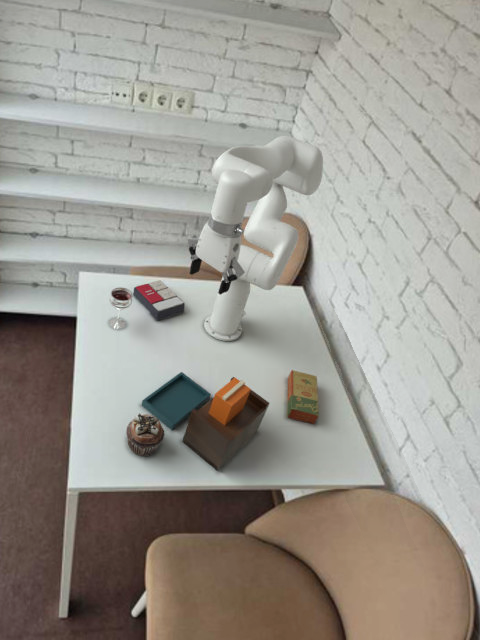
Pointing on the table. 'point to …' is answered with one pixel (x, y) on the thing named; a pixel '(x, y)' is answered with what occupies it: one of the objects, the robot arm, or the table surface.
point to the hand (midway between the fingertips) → (208, 282)
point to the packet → (229, 401)
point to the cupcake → (144, 434)
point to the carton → (302, 397)
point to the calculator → (159, 300)
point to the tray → (176, 400)
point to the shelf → (223, 430)
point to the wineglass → (120, 304)
